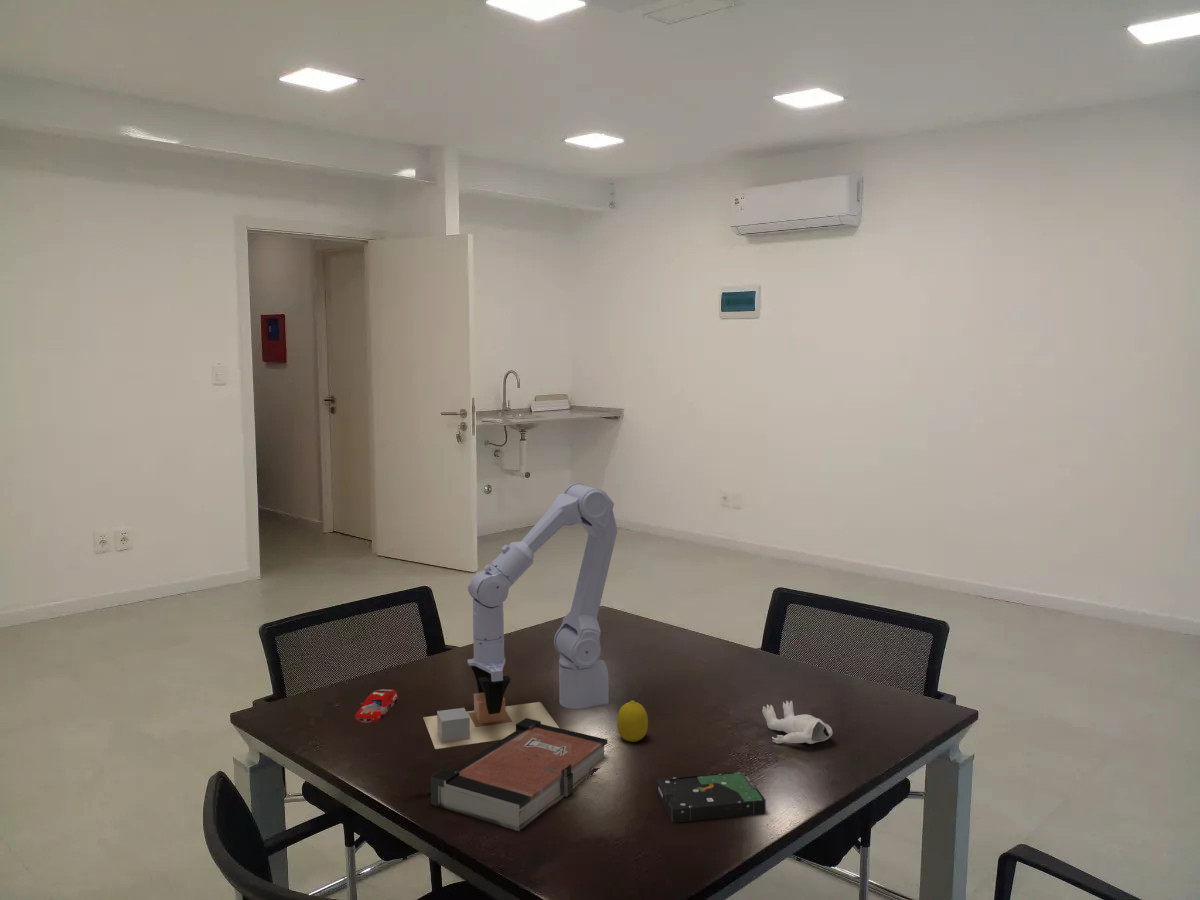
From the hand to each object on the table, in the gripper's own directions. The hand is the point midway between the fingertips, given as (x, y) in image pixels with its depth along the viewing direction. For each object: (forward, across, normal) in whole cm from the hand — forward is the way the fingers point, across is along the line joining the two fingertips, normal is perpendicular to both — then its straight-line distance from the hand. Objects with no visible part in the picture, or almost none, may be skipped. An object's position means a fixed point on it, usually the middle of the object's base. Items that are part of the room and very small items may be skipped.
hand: (490, 705), depth 173 cm
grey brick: (+2, +6, -8) cm, 10 cm away
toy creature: (+4, +25, +51) cm, 57 cm away
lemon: (+3, +18, +22) cm, 29 cm away
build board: (+3, +3, 0) cm, 4 cm away
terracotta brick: (+2, 0, 0) cm, 2 cm away
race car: (+4, -12, -20) cm, 23 cm away
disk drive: (+4, +42, +26) cm, 49 cm away
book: (+4, +26, 0) cm, 26 cm away
